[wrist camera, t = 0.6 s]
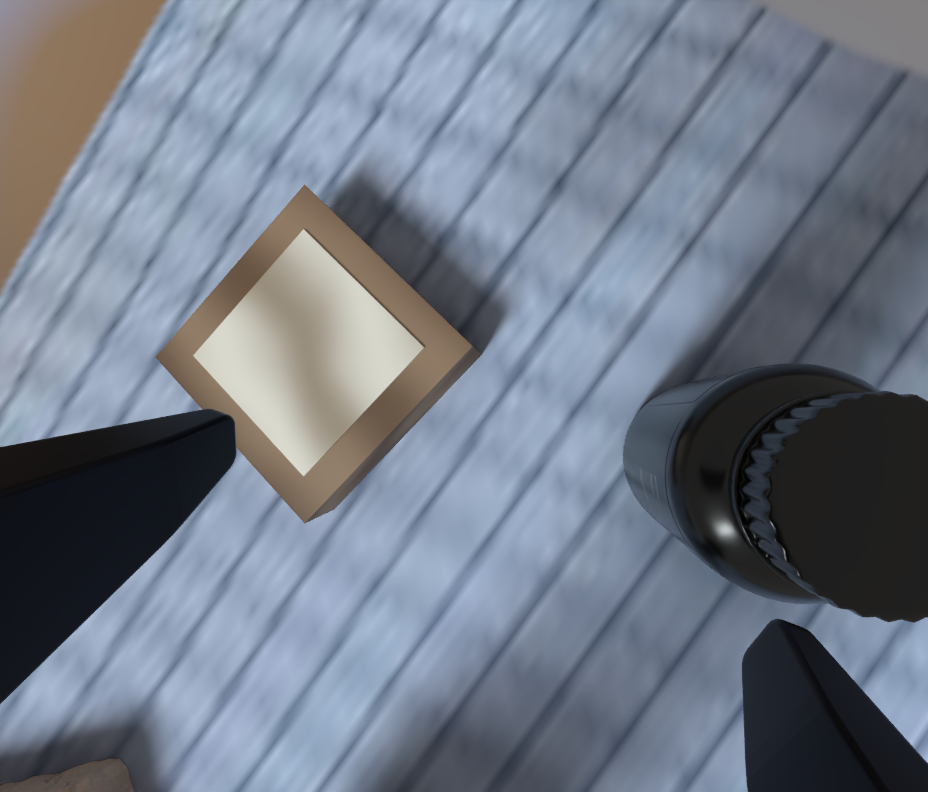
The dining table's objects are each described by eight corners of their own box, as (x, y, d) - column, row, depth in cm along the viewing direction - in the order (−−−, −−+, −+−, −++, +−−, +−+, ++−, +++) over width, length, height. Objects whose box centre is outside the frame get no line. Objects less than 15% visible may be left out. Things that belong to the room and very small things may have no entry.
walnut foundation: (333, 509, 24) (303, 523, 21) (200, 363, 26) (153, 356, 23) (481, 354, 23) (472, 346, 20) (333, 211, 25) (303, 183, 22)
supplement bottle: (774, 542, 21) (1077, 715, 9) (614, 521, 22) (696, 649, 10) (787, 387, 21) (1104, 357, 9) (627, 374, 22) (723, 333, 10)
